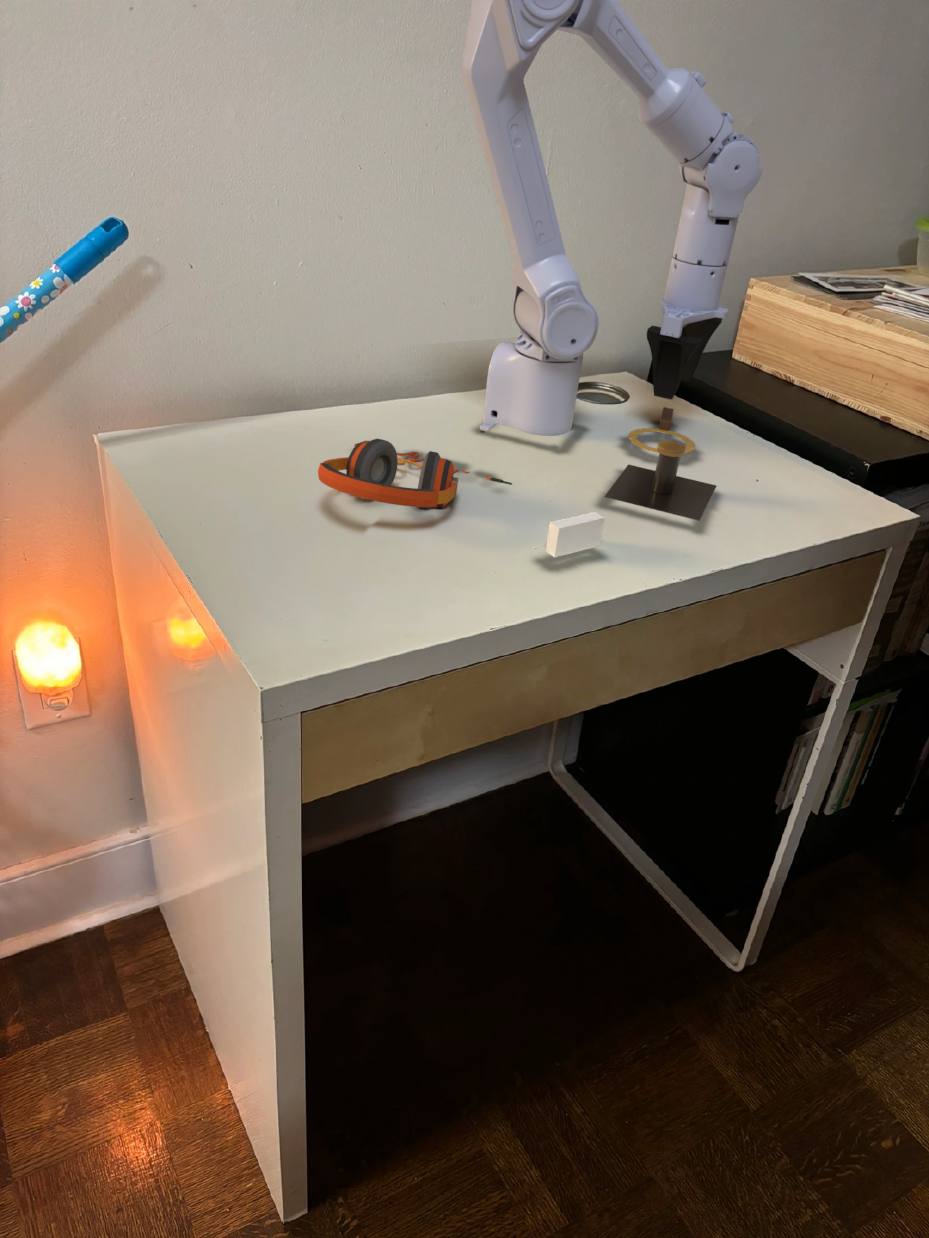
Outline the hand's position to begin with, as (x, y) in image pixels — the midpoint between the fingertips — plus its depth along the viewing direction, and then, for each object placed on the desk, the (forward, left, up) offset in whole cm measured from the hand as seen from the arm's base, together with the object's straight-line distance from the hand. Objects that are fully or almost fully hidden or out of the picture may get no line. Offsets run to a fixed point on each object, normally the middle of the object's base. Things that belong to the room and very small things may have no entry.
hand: (672, 387), depth 103 cm
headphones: (-17, -33, -5) cm, 37 cm away
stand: (+4, -20, -5) cm, 21 cm away
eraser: (0, -36, -5) cm, 36 cm away
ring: (+1, -4, -5) cm, 6 cm away
